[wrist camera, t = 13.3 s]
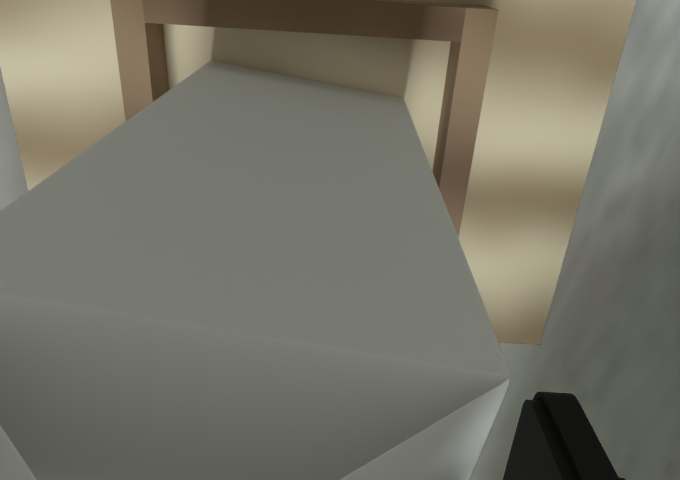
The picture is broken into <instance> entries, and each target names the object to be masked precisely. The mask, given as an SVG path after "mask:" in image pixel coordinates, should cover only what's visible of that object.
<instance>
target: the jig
mask: <svg viewBox="0 0 680 480" xmlns="http://www.w3.org/2000/svg"><path fill="white" fill-rule="evenodd" d="M635 4H636V0H0V67H1V71H2V76H3V80H4V85H5V89H6V94H7V98H8V102H9V107H10V111H11V116H12V120H13V125H14V129H15V134H16V138H17V143H18V147H19V152H20V156H21V160H22V165H23V169H24V174H25V178H26V183H27V187H28V191H29V190H31V189H32V188H34V187H35V186H36V185H38V184H39V183H41V182H42V181H43V180H45V179H46V178H48V177H49V176H50V175H52V174H53V173H54V172H56V171H57V170H59V169H60V168H61V167H63V166H64V165H66V164H67V163H68V162H70V161H71V160H73V159H74V158H75V157H77V156H78V155H80V154H81V153H82V152H84V151H85V150H87V149H88V148H89V147H91V146H92V145H94V144H95V143H96V142H98V141H99V140H101V139H102V138H103V137H105V136H106V135H108V134H109V133H110V132H112V131H113V130H115V129H116V128H117V127H119V126H120V125H122V124H123V123H124V122H126V121H127V120H128V119H130V118H131V117H133V116H134V115H135V114H137V113H138V112H140V111H141V110H142V109H144V108H145V107H147V106H148V105H149V104H151V103H152V102H154V101H155V100H156V99H158V98H159V97H161V96H162V95H163V94H165V93H166V92H168V91H169V90H170V89H172V88H173V87H175V86H176V85H177V84H179V83H180V82H182V81H183V80H184V79H186V78H187V77H189V76H190V75H191V74H193V73H194V72H196V71H197V70H198V69H200V68H201V67H202V66H204V65H205V64H207V63H208V62H210V61H216V62H221V63H227V64H232V65H237V66H242V67H247V68H252V69H257V70H262V71H268V72H273V73H278V74H283V75H288V76H293V77H298V78H303V79H308V80H314V81H319V82H324V83H329V84H334V85H339V86H344V87H349V88H354V89H360V90H365V91H370V92H375V93H380V94H385V95H390V96H395V97H400V98H403V99H404V101H405V103H406V105H407V108H408V111H409V113H410V116H411V118H412V121H413V123H414V126H415V129H416V131H417V134H418V136H419V139H420V141H421V144H422V146H423V149H424V152H425V154H426V157H427V159H428V162H429V164H430V167H431V170H432V172H433V175H434V177H435V180H436V182H437V185H438V188H439V190H440V193H441V195H442V198H443V200H444V203H445V205H446V208H447V211H448V213H449V216H450V218H451V221H452V223H453V226H454V229H455V231H456V234H457V236H458V239H459V241H460V244H461V247H462V249H463V252H464V254H465V257H466V259H467V262H468V265H469V267H470V270H471V272H472V275H473V277H474V280H475V282H476V285H477V288H478V290H479V293H480V295H481V298H482V300H483V303H484V306H485V308H486V311H487V313H488V316H489V319H490V321H491V324H492V327H493V329H494V332H495V335H496V338H497V340H498V342H502V343H520V344H538V345H540V342H541V338H542V335H543V331H544V328H545V324H546V321H547V317H548V313H549V310H550V306H551V303H552V299H553V296H554V292H555V289H556V285H557V281H558V278H559V274H560V271H561V267H562V264H563V260H564V257H565V253H566V249H567V246H568V242H569V239H570V235H571V232H572V228H573V225H574V221H575V217H576V214H577V210H578V207H579V203H580V200H581V196H582V193H583V189H584V185H585V182H586V178H587V175H588V171H589V168H590V164H591V161H592V157H593V153H594V150H595V146H596V143H597V139H598V136H599V132H600V128H601V125H602V121H603V118H604V114H605V111H606V107H607V104H608V100H609V96H610V93H611V89H612V86H613V82H614V79H615V75H616V72H617V68H618V64H619V61H620V57H621V54H622V50H623V47H624V43H625V40H626V36H627V32H628V29H629V25H630V22H631V18H632V15H633V11H634V8H635Z"/></svg>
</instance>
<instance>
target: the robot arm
mask: <svg viewBox="0 0 680 480" xmlns="http://www.w3.org/2000/svg"><path fill="white" fill-rule="evenodd" d="M503 480H625V479H624V478H619V477H618V476H617V474H616V472H615V470H614V468H613V466H612V464H611V462H610V461H609V459H608V457H607V455H606V453H605V451H604V449H603V447H602V445H601V443H600V442H599V440H598V438H597V436H596V434H595V432H594V430H593V428H592V426H591V424H590V423H589V421H588V419H587V417H586V415H585V413H584V411H583V409H582V407H581V405H580V404H579V402H578V400H577V398H576V397H575V396H574V395H573V394H568V393H551V392H537V393H536V394H535V396H534V399H533V400H526V401H525V402H524V404H523V407H522V410H521V414H520V418H519V422H518V425H517V429H516V433H515V436H514V440H513V444H512V448H511V451H510V455H509V459H508V462H507V466H506V470H505V474H504V477H503Z"/></svg>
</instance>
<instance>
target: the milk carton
mask: <svg viewBox="0 0 680 480" xmlns="http://www.w3.org/2000/svg"><path fill="white" fill-rule="evenodd" d="M509 379H510V376H509V372H508V369H507V366H506V363H505V360H504V357H503V354H502V351H501V349H500V346H499V343H498V340H497V338H496V335H495V332H494V329H493V327H492V324H491V321H490V319H489V316H488V313H487V311H486V308H485V306H484V303H483V300H482V298H481V295H480V293H479V290H478V288H477V285H476V282H475V280H474V277H473V275H472V272H471V270H470V267H469V265H468V262H467V259H466V257H465V254H464V252H463V249H462V247H461V244H460V241H459V239H458V236H457V234H456V231H455V229H454V226H453V223H452V221H451V218H450V216H449V213H448V211H447V208H446V205H445V203H444V200H443V198H442V195H441V193H440V190H439V188H438V185H437V182H436V180H435V177H434V175H433V172H432V170H431V167H430V164H429V162H428V159H427V157H426V154H425V152H424V149H423V146H422V144H421V141H420V139H419V136H418V134H417V131H416V129H415V126H414V123H413V121H412V118H411V116H410V113H409V111H408V108H407V105H406V103H405V101H404V99H403V98H400V97H395V96H390V95H385V94H380V93H375V92H370V91H365V90H360V89H354V88H349V87H344V86H339V85H334V84H329V83H324V82H319V81H314V80H308V79H303V78H298V77H293V76H288V75H283V74H278V73H273V72H268V71H262V70H257V69H252V68H247V67H242V66H237V65H232V64H227V63H221V62H216V61H210V62H208V63H207V64H205V65H204V66H202V67H201V68H200V69H198V70H197V71H196V72H194V73H193V74H191V75H190V76H189V77H187V78H186V79H184V80H183V81H182V82H180V83H179V84H177V85H176V86H175V87H173V88H172V89H170V90H169V91H168V92H166V93H165V94H163V95H162V96H161V97H159V98H158V99H156V100H155V101H154V102H152V103H151V104H149V105H148V106H147V107H145V108H144V109H142V110H141V111H140V112H138V113H137V114H135V115H134V116H133V117H131V118H130V119H128V120H127V121H126V122H124V123H123V124H122V125H120V126H119V127H117V128H116V129H115V130H113V131H112V132H110V133H109V134H108V135H106V136H105V137H103V138H102V139H101V140H99V141H98V142H96V143H95V144H94V145H92V146H91V147H89V148H88V149H87V150H85V151H84V152H82V153H81V154H80V155H78V156H77V157H75V158H74V159H73V160H71V161H70V162H68V163H67V164H66V165H64V166H63V167H61V168H60V169H59V170H57V171H56V172H54V173H53V174H52V175H50V176H49V177H48V178H46V179H45V180H43V181H42V182H41V183H39V184H38V185H36V186H35V187H34V188H32V189H31V190H29V191H28V192H27V193H25V194H24V195H22V196H21V197H20V198H18V199H17V200H15V201H14V202H13V203H11V204H10V205H8V206H7V207H6V208H4V209H3V210H1V211H0V480H469V478H470V476H471V474H472V472H473V470H474V467H475V465H476V463H477V461H478V459H479V456H480V454H481V451H482V449H483V447H484V444H485V442H486V439H487V437H488V434H489V432H490V430H491V427H492V425H493V422H494V420H495V418H496V415H497V413H498V411H499V408H500V406H501V404H502V401H503V399H504V396H505V393H506V391H507V388H508V385H509Z"/></svg>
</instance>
